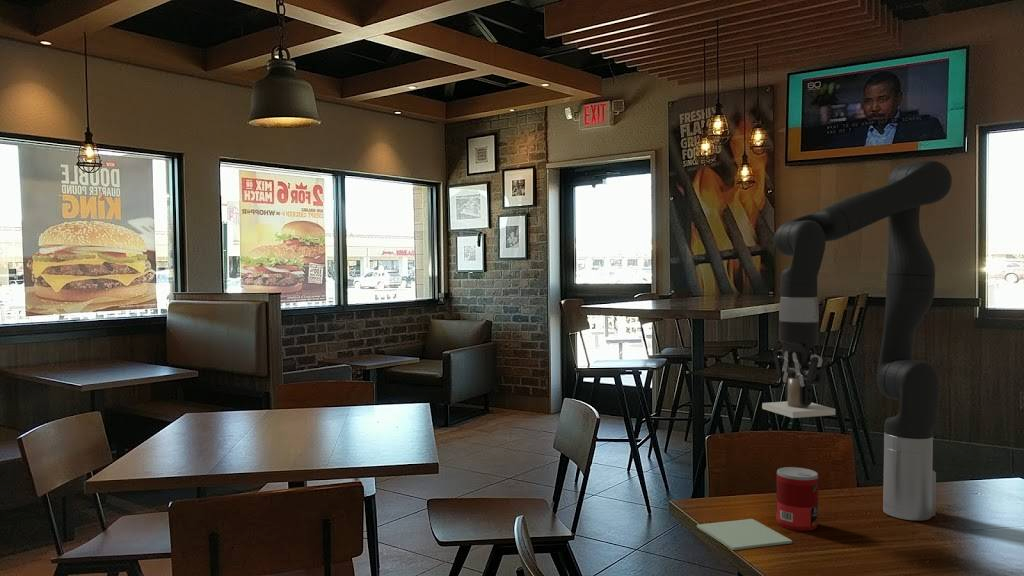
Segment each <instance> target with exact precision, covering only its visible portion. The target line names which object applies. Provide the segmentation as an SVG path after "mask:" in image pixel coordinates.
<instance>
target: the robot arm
mask: <svg viewBox="0 0 1024 576" xmlns="http://www.w3.org/2000/svg"><path fill="white" fill-rule="evenodd" d="M952 181H953V179H952V174H951V172H950V170H949V168H948V167H947V166H946V165H945V164H944V163H942V162H940V161H937V160H921V161H920V160H919V161H916V162H915V161H914V162H910V163H909V162H908V163H904V164H900V165H897V166H896V167H894V169H893V170H892V171H891V172H890V174H889V176H888V180H887V183H886V185H883V186H881V187H878V188H875V189H872V190H868V191H865V192H863V193H858V194H856V195H853V196H849V197H847V198H843V199H841V200H840V201H838V202H837V201H836V202H835V203H833V204H831V205H829V206H826V207H825V208H822V209H821V210H819V211H818V210H817V212H813V213H809V214H806V215H802V216H800V217H797V218H793V219H791V220H788V221H787V222H785V223H783V224H781V225H780V226H779V227H778V228H777V230H776V231H775V233H774V236H773V244H774V247H775V248H776V250H778V251H779V253H781V254H782V255H785V256H789V257H790V256H791V257H792V259H791V264H790V265H789V267H788V268H785V269H784V270H782V272H781V276H780V302H779V311H778V313H779V314H778V315H779V317H778V318H779V320H778V340H779V341H780V343H782V344H783V345H782V349H777V350H773V359H774V365H775V369H776V373H777V378H778V379H781V380H782V381H783V383H784V396H785V402H786V401H788V378H790V377H799V380H800V385H801V387H800V404H801V405H810V404H811V403H813V402H812V401H813V387H814V386H817V385H820V383H821V381H822V377H823V373H824V368H825V365H826V360H827V359H826V357H825V356H820V355H817V354H816V353H817V352H816V350H815V344H817V343H818V342H819V324H820V323H819V314H820V313H819V301H818V276H819V272H820V269H821V266H822V261H823V257H824V253H825V251H826V244H827V242H832V241H837V240H839V239H840V240H841V239H842V238H844V237H846V236H849V235H851V234H853V233H856V232H858V231H859V230H862V229H864V228H866V227H868V226H870V225H872V224H875V223H877V222H880V221H881V220H883V219H886V218H888V250H887V251H888V252H887V253H888V255H887V269H886V279H885V280H886V281H885V282H886V283H885V306H884V307H885V309H884V320H883V321H884V323H883V334H882V340H881V347H880V353H879V357H878V363H877V373H876V383H877V386H878V390H879V391H880V393H881V394H882V395H883V396H884V397H885V398H888V399H890V400H895V401H899V402H900V404H899V405H900V407H899V412H898V414H897V415H895V416H891V417H887V418H886V419H885V420H884V427H883V429H884V433H883V434H884V435H883V486H882V488H883V494H882V496H883V498H882V501H883V502H882V503H883V504H882V510H883V513H885V514H886V515H888V516H891V517H893V518H897V519H901V520H907V521H927V520H930V519H931V518H932V517H935V516H936V498H937V497H936V496H937V495H936V494H937V493H936V491H937V490H936V489H937V484H936V483H937V473H936V471H935V470H933V455H934V453H933V450H934V449H933V448H934V447H933V446H934V445H933V442H934V440H933V439H934V429H935V426H936V425H937V422H938V417H939V416H938V414H939V406H940V405H939V403H940V393H941V392H940V391H941V389H940V388H941V387H940V377H939V374H938V371H937V369H936V368H935V367H934V366H933V365H932V364H931V363H930V362H926V361H923V360H922V361H921V360H917V359H913V345H914V343H913V342H914V339H915V338H914V337H915V335H916V332H917V330H918V328H919V326H920V324H921V323H922V321H923V319H924V318H925V316H926V315H927V313H928V312H929V310H930V308H931V306H932V303H933V301H934V297H935V286H936V285H935V284H936V277H935V276H936V266H935V263H934V259H933V257H932V255H931V253H930V250H929V248H928V247H927V244H926V242H925V241H924V238H923V236H922V233H921V227H920V211H921V206H926V205H931V204H935V203H937V202H940V201H942V200H943V199H944V198H945V197H946V196H947V195H948V193H950V190H951V188H952V183H953V182H952ZM805 376H806V377H805ZM805 378H807V379H806V380H805Z"/></svg>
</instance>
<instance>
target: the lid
mask: <svg viewBox="0 0 1024 576" xmlns="http://www.w3.org/2000/svg"><path fill="white" fill-rule="evenodd" d="M806 379H807V377H805V380H806ZM800 387H801V385H800V380H799V376H797V377H790V378H788V401H786V400H785V401H775V402H773V401H772V402H762V405H761V408H762V410H766V411H768V412H772V413H775V414H778V415H782V416H783V417H784V416H785V417H788V418H791V419H797V418H811V417H825V416H827V417H828V416H836V408H833V407H829V406H825V405H821V404H820V403H819V404H818V403H815V402H811V404H810V405H801V404H800Z"/></svg>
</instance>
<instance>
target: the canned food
mask: <svg viewBox="0 0 1024 576" xmlns="http://www.w3.org/2000/svg"><path fill="white" fill-rule="evenodd" d="M775 504H776V514H775V515H776V516H775V517H776V518H775V519H776V522H777V524H778V525H779V526H780V527H782V528H785V529H786V530H791V531H799V532H805V531H806V532H807V531H813V530H815V529H816V528H817V527H818V523H819V522H818V521H819V519H818V518H819V517H818V514H819V473H818V472H817V471H815V470H813V469H809V468H804V467H794V466H789V467H788V466H787V467H786V466H784V467H780V468H778V469H777V470H776V501H775Z"/></svg>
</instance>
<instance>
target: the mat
mask: <svg viewBox="0 0 1024 576" xmlns="http://www.w3.org/2000/svg"><path fill="white" fill-rule="evenodd" d="M696 528H697V529H699V530H701V531H702V532H703V533H705V534H707V536H710V537H711V538H713V539H715V540H716V541H718V542H719V543H721V544H723V545H724V546H725V547H727V548H729V549H730V550H732V551H738V550H745V549H753V548H761V547H762V548H763V547H770V546H771V547H772V546H779V545H787V544H793V540H792V539H790V538H789V537H786V536H785V535H783V534H782V533H780V532H777V531H776V530H774V529H771V528H770V527H768V526H766V525H765V524H762V522H759V521H758V520H756V519H753V518H748V519H747V518H746V519H737V520H729V521H718V522H711V523H710V522H709V523H702V524H701V523H700V524H696Z"/></svg>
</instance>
